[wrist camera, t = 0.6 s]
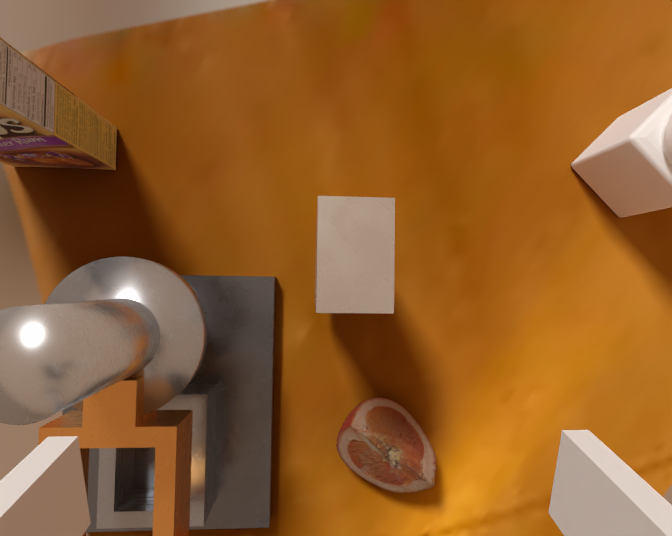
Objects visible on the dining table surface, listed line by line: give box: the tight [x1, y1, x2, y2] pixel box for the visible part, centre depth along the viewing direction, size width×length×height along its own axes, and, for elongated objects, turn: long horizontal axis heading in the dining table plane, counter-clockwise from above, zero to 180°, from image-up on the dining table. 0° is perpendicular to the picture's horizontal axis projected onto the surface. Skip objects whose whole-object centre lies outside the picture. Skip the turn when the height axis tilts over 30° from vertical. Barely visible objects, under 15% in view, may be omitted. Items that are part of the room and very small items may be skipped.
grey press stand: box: [0, 256, 276, 536], centre depth 24 cm, size 22×17×18 cm
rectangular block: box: [315, 196, 395, 314], centre depth 27 cm, size 6×4×15 cm, turn 179°
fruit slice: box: [337, 397, 436, 493], centre depth 32 cm, size 8×7×5 cm
